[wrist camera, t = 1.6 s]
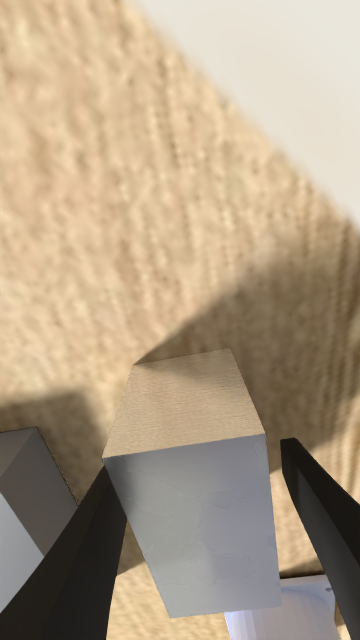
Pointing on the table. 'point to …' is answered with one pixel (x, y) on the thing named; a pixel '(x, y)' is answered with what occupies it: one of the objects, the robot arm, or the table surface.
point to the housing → (196, 484)
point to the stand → (28, 507)
